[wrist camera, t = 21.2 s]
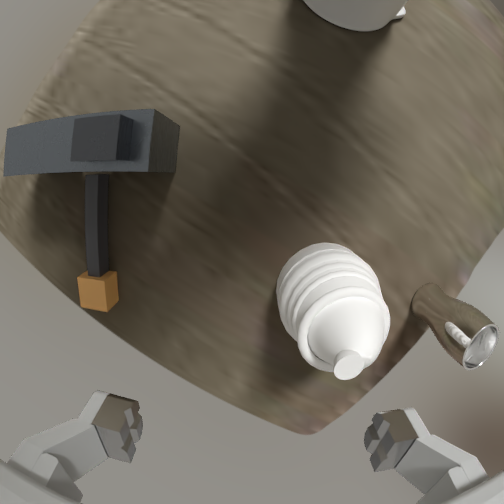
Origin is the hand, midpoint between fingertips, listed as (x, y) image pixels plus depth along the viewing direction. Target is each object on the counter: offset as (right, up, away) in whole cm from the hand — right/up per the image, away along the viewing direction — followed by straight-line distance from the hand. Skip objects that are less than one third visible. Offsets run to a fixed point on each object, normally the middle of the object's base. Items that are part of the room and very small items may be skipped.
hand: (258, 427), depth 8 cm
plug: (-21, +8, +28) cm, 36 cm away
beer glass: (+27, -2, +31) cm, 41 cm away
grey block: (-20, +19, +25) cm, 37 cm away
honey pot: (+9, +1, +30) cm, 32 cm away
